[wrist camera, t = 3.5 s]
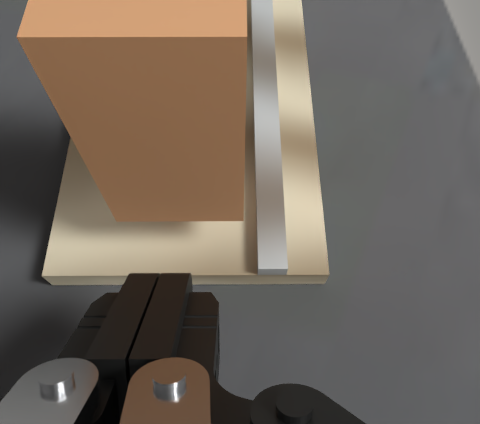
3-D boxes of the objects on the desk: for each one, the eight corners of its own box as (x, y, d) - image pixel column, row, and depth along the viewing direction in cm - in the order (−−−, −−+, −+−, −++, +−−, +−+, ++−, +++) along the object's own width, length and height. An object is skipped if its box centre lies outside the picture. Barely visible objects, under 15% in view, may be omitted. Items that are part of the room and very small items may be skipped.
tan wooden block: (243, 243, 16) (247, 37, 8) (128, 244, 16) (16, 37, 8) (242, 150, 18) (244, -96, 10) (140, 150, 18) (58, -95, 10)
